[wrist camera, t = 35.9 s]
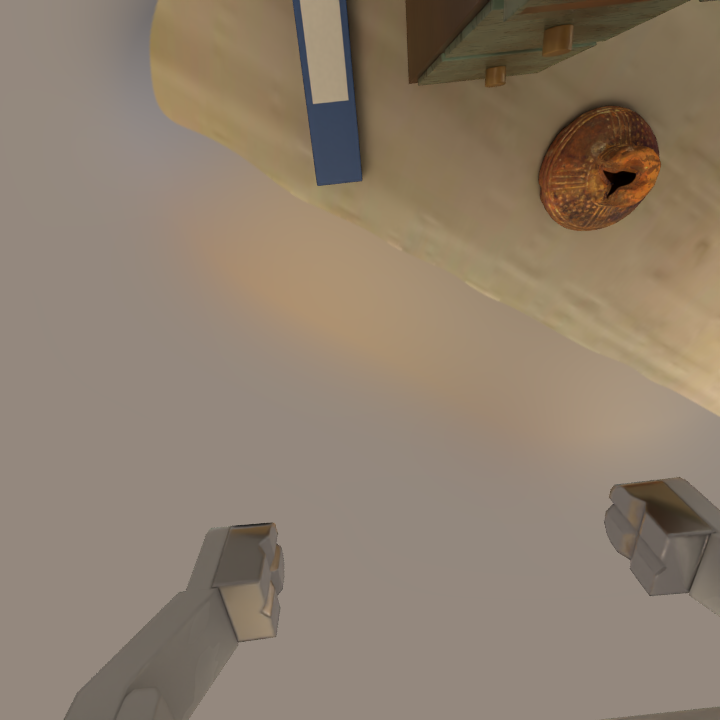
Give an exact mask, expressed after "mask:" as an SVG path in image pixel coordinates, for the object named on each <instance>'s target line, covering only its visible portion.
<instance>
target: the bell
mask: <svg viewBox="0 0 720 720" xmlns="http://www.w3.org/2000/svg"><path fill="white" fill-rule="evenodd" d="M660 167H661V162H660V159H659V150H658V145H657V141H656V137H655V135H654V134H653V132H652V130H651V128H650V126H649V125H648V124H647V123H646V122H645V120H644V119H643V118H642V117H641V116H640V115H639V114H637V113H636V112H634V111H632V110H630V109H627V108H624V107H620V106H605V107H599V108H596V109H593V110H590V111H588V112H585V113H584V114H582V115H580V116H579V117H578V118H577V119H576V120H574V121H573V122H572V123H571V124H570V125H569V126H567V127H566V128H564V129H563V130H562V131H561V132H560V133H559V134H558V135H557V137H556V138H555V140H554V141H553V143H552V144H551V146H550V147H549V149H548V151H547V154H546V155H545V157H544V160H543V162H542V166H541V169H540V172H539V179H538V181H539V184H540V186H541V193H540V198H541V201H542V203H543V205H544V207H545V209H546V211H547V212H548V213H549V215H550V217H551V218H552V219H553V220H554V221H555V222H557V223H558V224H560V225H561V226H563V227H565V228H567V229H571V230H577V231H589V230H597V229H601V228H604V227H608V226H610V225H612V224H615V223H617V222H618V221H620V220H621V219H623V218H624V217H626V216H627V215H629V214H630V213H631V212H632V211H633V210H634V209H635V208H636V207H637V206H638V205H639V204H640V202H641V201H642V200H643V199H644V198H645V196H646V195H647V194H648V193H649V192H650V191H651V189H652V188H653V186H654V185H655V182H656V179H657V176H658V174H659V171H660ZM598 172H599V173H598Z"/></svg>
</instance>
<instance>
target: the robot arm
mask: <svg viewBox="0 0 720 720" xmlns="http://www.w3.org/2000/svg"><path fill="white" fill-rule="evenodd" d="M609 498H610V499H611V501H612V502H613V503H614V504H613V505H612V506H611V507H610V508H609V509H608V510H607V511H606V514H605V521H604V523H605V528H606V533H607V535H608V537H609V540H610V542H611V543H612V545H613V546H614V548H615V549H616V551H617V552H618V553H620V554H621V555H623V556H625V557H626V558H628V559H630V570H631V571H632V573H633V574H634V575H635V577H636V578H637V579H638V581H639V582H640V584H641V585H642V586H643V588H644V589H645V590H646V592H647V593H648V594H649V596H655V595H668V594H680V593H689V596H691V597H692V598H694V599H695V600H697V601H698V602H699V603H701V604H702V605H704V606H705V607H706V608H708V609H709V610H711V611H712V612H714V613H715V614H717V615H718V616H719V617H720V510H719V509H718V508H717V507H716V506H714V505H713V504H712V503H711V502H710V501H709V500H708V499H707V498H706V497H704V496H703V495H702V494H701V493H700V492H699V491H698V490H697V489H695V488H694V487H693V486H692V485H691V484H690V483H689V482H688V481H686V480H685V479H682V478H680V477H677V478H668V479H660V480H650V481H642V482H634V483H626V484H617V485H614V486H613V487H612V489H611V491H610V495H609ZM277 535H278V532H277V529H276V525H275V524H274V523H261V524H249V525H237V526H230V527H219V528H211V529H210V530H209V531H208V533H207V534H206V536H205V539H204V542H203V545H202V548H201V551H200V553H199V556H198V559H197V561H196V564H195V567H194V570H193V572H192V575H191V578H190V581H189V583H188V586H187V589H186V591H184V592H179V593H178V594H177V595H176V596H175V597H174V598H173V599H172V600H171V601H170V602H169V603H168V604H167V605H166V606H165V607H164V608H163V609H161V610H160V612H159V613H157V615H156V616H155V617H153V618H152V619H151V620H150V621H149V622H148V623H147V624H146V625H145V626H144V627H143V628H142V629H141V630H140V631H139V632H138V633H137V634H136V635H135V636H134V637H133V638H132V639H131V640H130V641H129V642H128V643H127V644H126V645H125V646H124V647H123V648H122V649H121V650H120V651H119V652H118V653H117V654H116V655H115V656H114V657H113V658H112V659H111V660H110V661H109V662H108V663H107V664H106V665H105V666H104V667H103V668H102V669H101V670H100V671H99V672H98V673H97V674H96V675H95V676H94V677H93V678H92V679H91V680H90V681H89V682H88V683H87V684H86V685H85V686H84V687H83V688H82V689H81V690H80V691H79V692H78V693H77V694H76V696H75V698H74V700H73V702H72V704H71V706H70V708H69V710H68V712H67V714H66V716H65V718H64V720H189V718H190V717H191V715H192V714H193V712H194V711H195V709H196V708H197V706H198V705H199V703H200V702H201V700H202V699H203V697H204V696H205V694H206V693H207V691H208V690H209V688H210V687H211V685H212V684H213V682H214V680H215V679H216V678H217V676H218V675H219V673H220V672H221V670H222V669H223V667H224V666H225V664H226V663H227V661H228V660H229V658H230V657H231V655H232V654H233V652H234V651H235V649H236V648H237V646H238V642H244V641H251V640H258V639H265V638H273V637H276V635H277V627H278V621H279V613H280V605H279V601H278V598H277V595H278V594H279V593H280V592H281V591H282V589H283V582H284V558H283V553H282V548H281V546H279V545H278V544H277V543H276V542H277ZM602 720H720V707H712V708H702V709H693V710H684V711H675V712H667V713H657V714H647V715H638V716H630V717H620V718H611V719H602Z"/></svg>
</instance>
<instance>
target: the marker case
mask: <svg viewBox="0 0 720 720" xmlns="http://www.w3.org/2000/svg"><path fill="white" fill-rule="evenodd" d="M293 7H294V14H295V22H296V30H297V37H298V45H299V52H300V60H301V67H302V75H303V82H304V90H305V97H306V105H307V112H308V120H309V127H310V135H311V142H312V150H313V157H314V165H315V172H316V180H317V185H318V186H321V185H330V184H339V183H348V182H358V181H362V171H361V160H360V148H359V137H358V126H357V115H356V104H355V93H354V81H353V70H352V59H351V48H350V37H349V25H348V14H347V3H346V0H293Z"/></svg>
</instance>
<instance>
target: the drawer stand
mask: <svg viewBox="0 0 720 720" xmlns="http://www.w3.org/2000/svg"><path fill="white" fill-rule="evenodd" d="M688 1H690V0H406V22H407V47H408V73H409V84H412V83H418V85H419V86H420V85H429V84H438V83H447V82H457V81H466V80H475V79H485V87H497V86H501V85H504V84H505V83H506V76H513V75H522V74H531V73H538V72H540V71H542V70H544V69H546V68H548V67H551V66H553V65H555V64H557V63H559V62H561V61H563V60H565V59H567V58H570V57H572V56H574V55H576V54H578V53H580V52H582V51H584V50H586V49H589V48H591V47H593V46H595V45H596V42H599V41H606V40H608V39H610V38H612V37H614V36H616V35H618V34H620V33H622V32H625V31H627V30H629V29H631V28H633V27H635V26H637V25H639V24H641V23H644V22H646V21H648V20H650V19H652V18H654V17H656V16H658V15H660V14H663V13H665V12H667V11H669V10H671V9H673V8H675V7H677V6H679V5H682V4H684V3H686V2H688ZM705 1H715V0H699V2H705Z"/></svg>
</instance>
